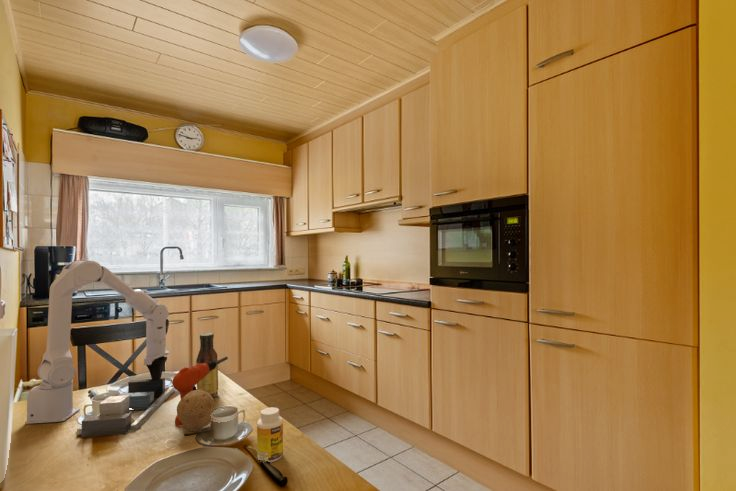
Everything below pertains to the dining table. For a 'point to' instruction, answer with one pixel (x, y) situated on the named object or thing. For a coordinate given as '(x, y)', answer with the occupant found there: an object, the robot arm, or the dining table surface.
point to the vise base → (118, 420)
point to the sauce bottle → (204, 356)
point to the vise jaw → (144, 392)
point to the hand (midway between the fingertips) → (156, 380)
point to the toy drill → (192, 379)
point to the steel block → (114, 405)
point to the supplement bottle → (270, 435)
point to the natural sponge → (195, 410)
